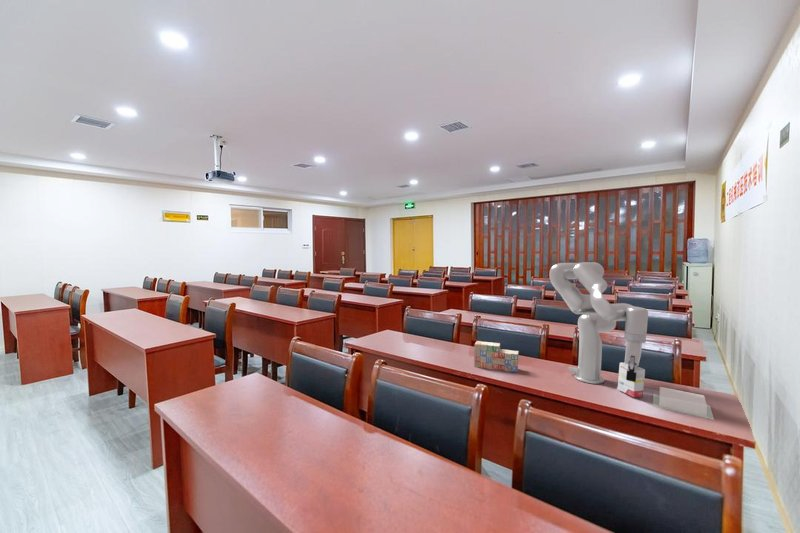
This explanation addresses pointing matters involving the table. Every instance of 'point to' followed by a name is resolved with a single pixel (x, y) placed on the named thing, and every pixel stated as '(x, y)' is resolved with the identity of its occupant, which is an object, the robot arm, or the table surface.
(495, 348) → the stack of blocks
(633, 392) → the ink box
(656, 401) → the building plate
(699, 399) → the cream brick
